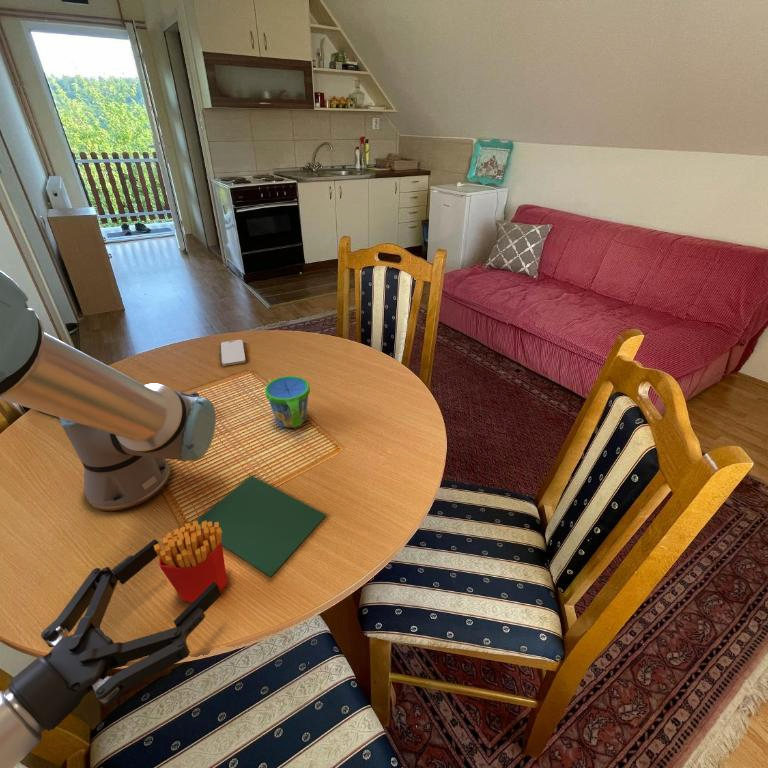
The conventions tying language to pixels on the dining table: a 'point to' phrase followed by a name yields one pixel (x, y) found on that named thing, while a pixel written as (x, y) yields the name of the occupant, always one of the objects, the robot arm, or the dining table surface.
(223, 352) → the smartphone
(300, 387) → the snack cup
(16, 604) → the dining table surface
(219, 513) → the green cloth
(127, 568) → the robot arm
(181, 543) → the french fries
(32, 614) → the dining table surface
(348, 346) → the dining table surface
